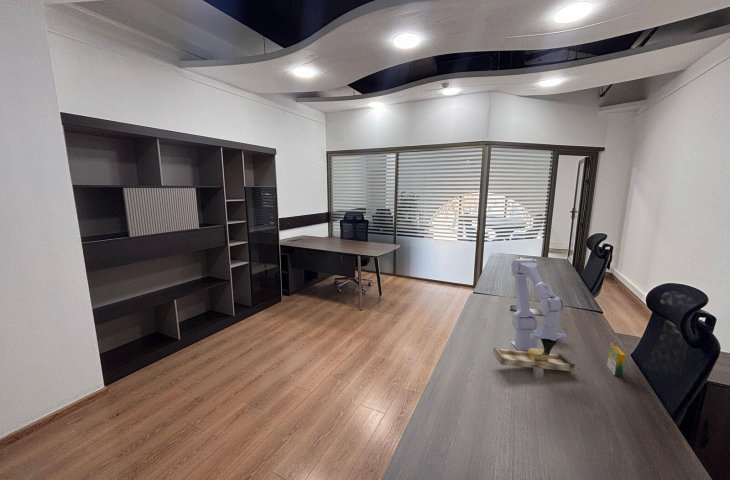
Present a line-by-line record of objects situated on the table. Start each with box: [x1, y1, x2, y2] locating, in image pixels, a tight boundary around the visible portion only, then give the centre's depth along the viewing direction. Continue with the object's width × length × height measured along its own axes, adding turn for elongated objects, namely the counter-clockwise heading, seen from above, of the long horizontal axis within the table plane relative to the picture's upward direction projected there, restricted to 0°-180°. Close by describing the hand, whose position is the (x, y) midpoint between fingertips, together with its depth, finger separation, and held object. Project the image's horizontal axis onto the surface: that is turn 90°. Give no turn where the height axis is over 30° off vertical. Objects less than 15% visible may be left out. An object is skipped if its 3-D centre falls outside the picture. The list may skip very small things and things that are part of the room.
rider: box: [527, 347, 549, 362], centre depth 126 cm, size 6×5×4 cm
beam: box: [492, 346, 576, 372], centre depth 127 cm, size 31×9×4 cm, turn 89°
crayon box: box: [606, 341, 627, 378], centre depth 124 cm, size 7×3×12 cm, turn 160°
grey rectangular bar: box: [532, 367, 544, 379], centre depth 127 cm, size 3×14×4 cm, turn 179°
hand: (546, 354), depth 126 cm, fingers closed, pressing on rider
